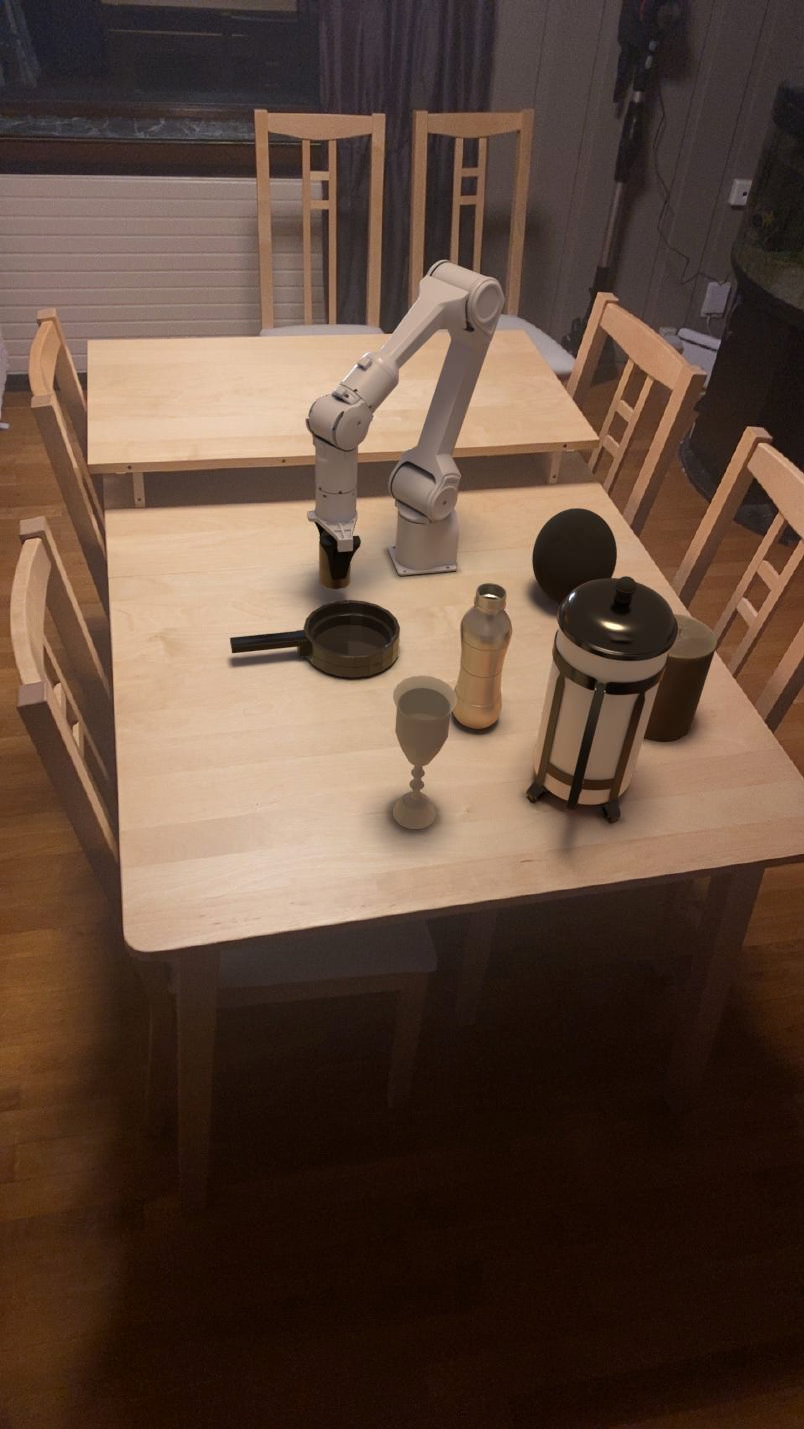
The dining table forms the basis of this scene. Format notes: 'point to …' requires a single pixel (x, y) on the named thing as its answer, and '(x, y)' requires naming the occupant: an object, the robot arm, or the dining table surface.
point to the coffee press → (601, 691)
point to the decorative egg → (573, 552)
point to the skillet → (352, 638)
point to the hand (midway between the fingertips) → (335, 568)
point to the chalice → (420, 740)
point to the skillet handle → (270, 642)
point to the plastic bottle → (482, 658)
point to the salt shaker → (325, 573)
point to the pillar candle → (682, 680)
